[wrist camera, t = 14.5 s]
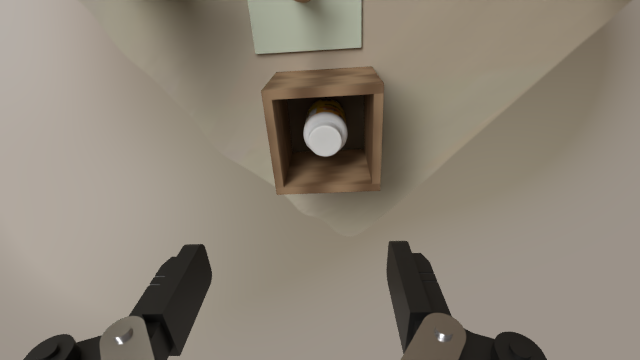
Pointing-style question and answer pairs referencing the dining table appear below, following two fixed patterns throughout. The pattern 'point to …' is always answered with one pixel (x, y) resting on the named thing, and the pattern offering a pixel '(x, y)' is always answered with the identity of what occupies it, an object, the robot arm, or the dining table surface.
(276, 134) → the box
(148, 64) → the dining table surface
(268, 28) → the lid
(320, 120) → the supplement bottle
